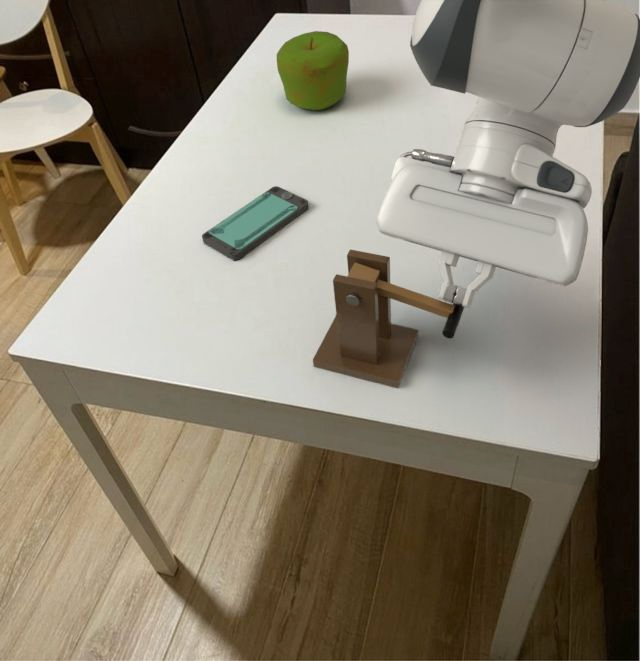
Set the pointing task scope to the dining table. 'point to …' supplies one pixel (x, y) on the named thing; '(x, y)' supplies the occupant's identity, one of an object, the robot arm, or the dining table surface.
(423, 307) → the switch lever
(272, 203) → the smartphone
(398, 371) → the switch bracket
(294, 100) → the apple
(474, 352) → the dining table surface
